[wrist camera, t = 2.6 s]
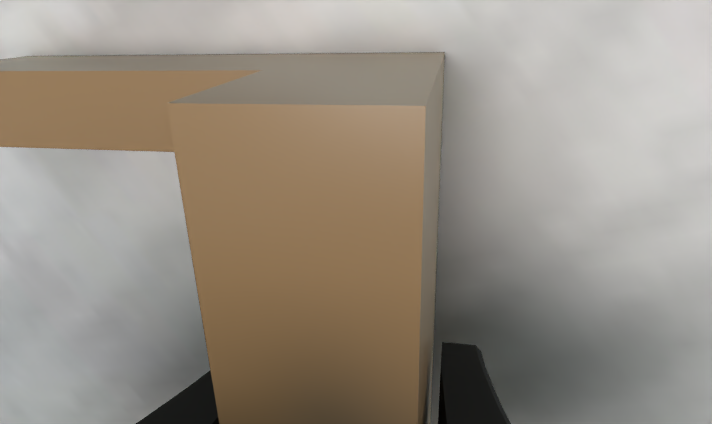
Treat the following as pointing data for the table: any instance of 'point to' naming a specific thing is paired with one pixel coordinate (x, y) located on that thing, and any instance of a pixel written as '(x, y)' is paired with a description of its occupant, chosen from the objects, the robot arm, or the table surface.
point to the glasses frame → (279, 211)
